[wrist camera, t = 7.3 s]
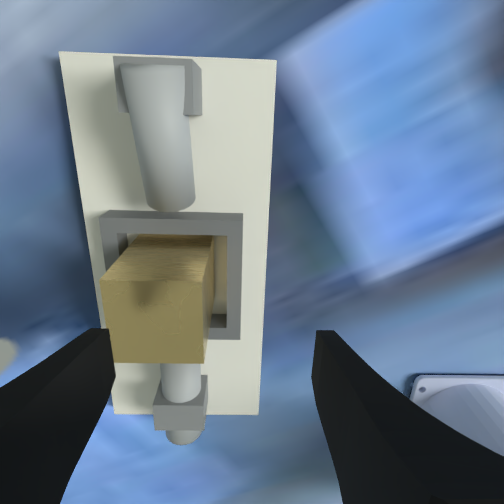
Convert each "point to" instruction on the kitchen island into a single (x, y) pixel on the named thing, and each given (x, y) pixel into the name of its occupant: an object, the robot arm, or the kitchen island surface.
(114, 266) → the block
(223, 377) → the coupling stand
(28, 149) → the kitchen island surface
